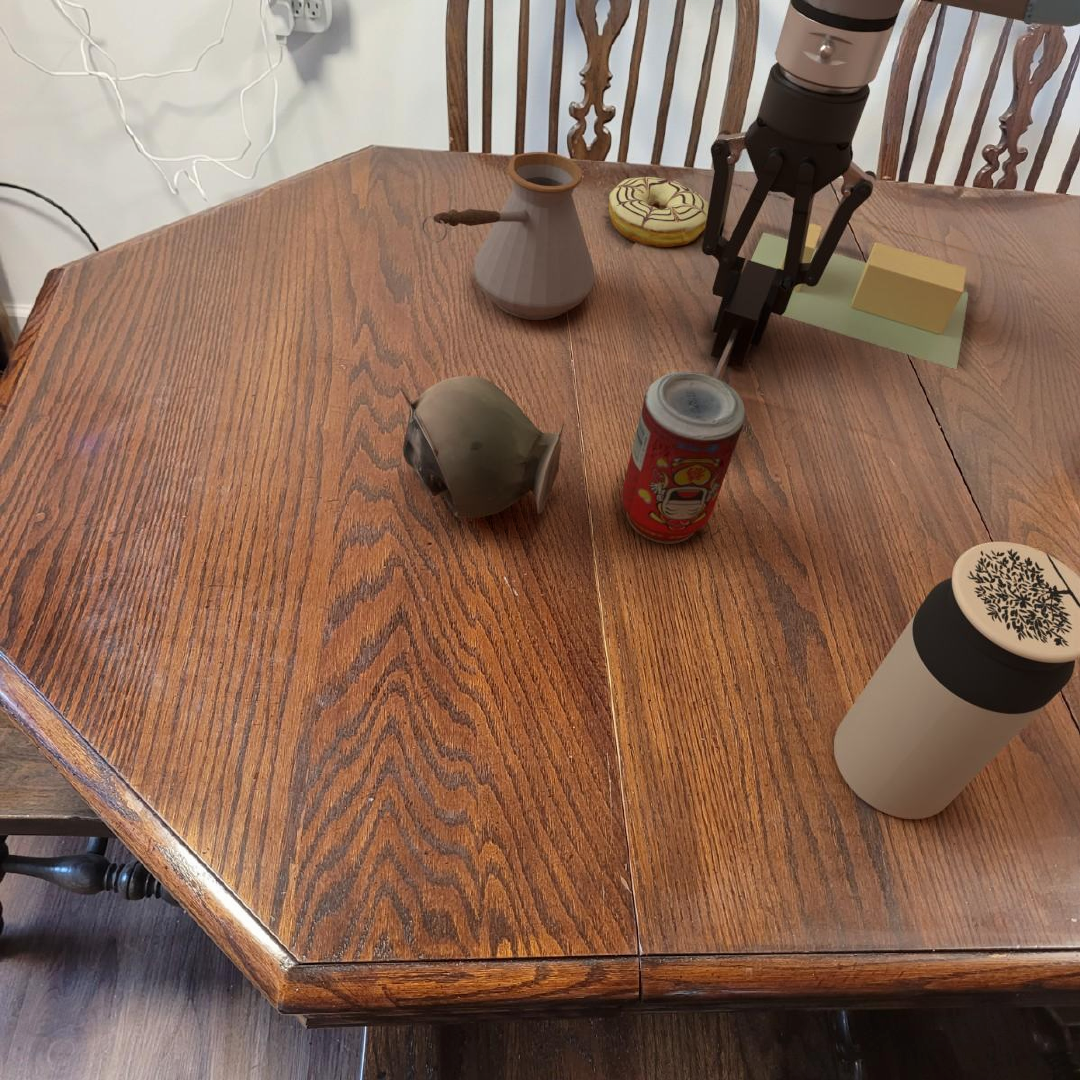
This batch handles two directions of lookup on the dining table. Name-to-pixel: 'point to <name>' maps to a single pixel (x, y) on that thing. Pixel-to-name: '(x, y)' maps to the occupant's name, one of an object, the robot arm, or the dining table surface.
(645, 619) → the dining table surface
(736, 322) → the knife
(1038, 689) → the travel mug
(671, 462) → the soda can
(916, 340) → the butter board
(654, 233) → the decorated donut
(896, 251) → the butter block
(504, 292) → the coffee pot
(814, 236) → the butter slice
